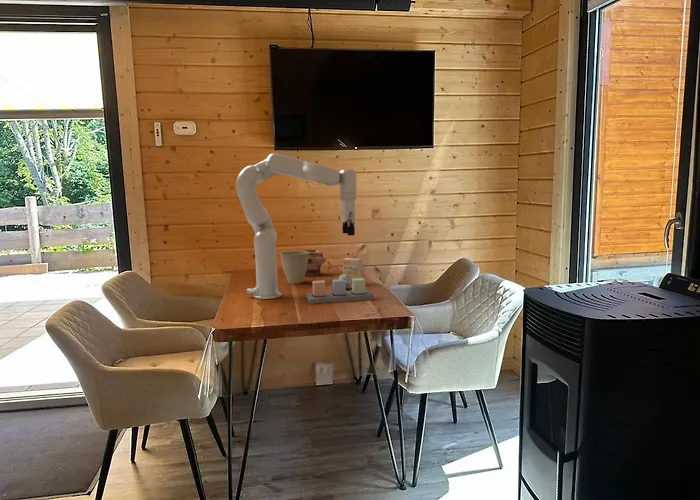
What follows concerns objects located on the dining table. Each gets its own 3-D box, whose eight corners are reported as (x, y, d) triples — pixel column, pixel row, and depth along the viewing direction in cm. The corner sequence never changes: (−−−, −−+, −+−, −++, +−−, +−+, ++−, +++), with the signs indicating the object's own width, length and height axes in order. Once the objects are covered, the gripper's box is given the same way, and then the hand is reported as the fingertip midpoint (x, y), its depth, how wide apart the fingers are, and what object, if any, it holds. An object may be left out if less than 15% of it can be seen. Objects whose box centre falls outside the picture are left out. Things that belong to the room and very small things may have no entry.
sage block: (354, 293, 219) (354, 280, 218) (351, 291, 223) (351, 278, 223) (365, 293, 220) (365, 279, 219) (362, 290, 225) (362, 277, 224)
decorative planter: (290, 277, 275) (289, 252, 273) (292, 273, 287) (291, 249, 285) (325, 276, 275) (325, 251, 273) (326, 272, 287) (326, 248, 285)
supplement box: (342, 284, 252) (342, 259, 250) (346, 282, 256) (346, 257, 255) (357, 285, 249) (357, 259, 247) (361, 283, 253) (360, 258, 252)
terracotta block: (314, 296, 215) (314, 283, 214) (312, 294, 220) (312, 280, 219) (325, 295, 216) (325, 282, 215) (323, 293, 221) (323, 280, 220)
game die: (348, 297, 239) (352, 283, 232) (332, 290, 240) (335, 276, 233) (354, 285, 245) (358, 271, 239) (339, 279, 247) (342, 265, 240)
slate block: (334, 295, 217) (334, 281, 216) (332, 292, 222) (332, 279, 221) (345, 294, 218) (345, 281, 217) (343, 292, 223) (343, 279, 222)
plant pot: (305, 279, 268) (305, 250, 266) (312, 284, 254) (311, 253, 252) (278, 281, 263) (277, 251, 261) (283, 286, 249) (282, 255, 247)
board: (309, 303, 211) (309, 299, 211) (306, 297, 223) (306, 293, 223) (372, 299, 217) (372, 295, 217) (366, 293, 229) (366, 289, 228)
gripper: (336, 196, 231) (336, 232, 233) (344, 197, 215) (344, 236, 217) (351, 196, 233) (351, 232, 235) (361, 197, 216) (361, 235, 219)
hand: (348, 234), depth 226 cm, fingers open, 9 cm apart
